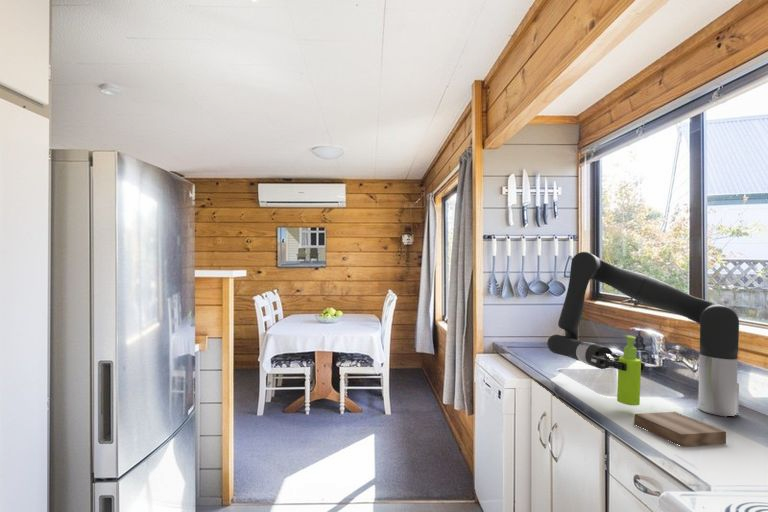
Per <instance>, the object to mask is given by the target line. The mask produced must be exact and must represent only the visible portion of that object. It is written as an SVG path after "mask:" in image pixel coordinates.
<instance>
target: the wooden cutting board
mask: <svg viewBox="0 0 768 512" xmlns="http://www.w3.org/2000/svg"><path fill="white" fill-rule="evenodd" d="M633 425H634V426H636V425H637V426H636V427H638V426H639V427H638V428H640V427H641V428H640V429H642V428H644V429H646V430H648V431H647V432H649V433H651V434H653V435H655V436H656V437H659V436H660V437H659V438H661V437H662V439H663V438H664V440H666V441H668V440H669V441H668V442H670V441H671V442H670V443H672V442H673V443H672V444H674V443H675V444H674V445H676V444H678V445H680V446H686V447H696V446H698V445H699V447H700V446H712V445H725V444H727V431H725V430H723V429H722V428H721V429H720V428H718V427H717V426H716V427H715V426H713V425H711V424H708V423H705V422H702V421H701V420H700V421H699V420H697V419H694V418H692V417H689V416H687V415H684V414H682V413H679V412H676V411H668V412H666V411H665V412H664V411H662V412H645V413H644V412H642V413H641V412H640V413H634V415H633ZM644 429H643V430H644ZM646 430H645V431H646ZM678 445H677V446H678ZM680 446H679V447H680Z"/></svg>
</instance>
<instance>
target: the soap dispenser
mask: <svg viewBox="0 0 768 512" xmlns="http://www.w3.org/2000/svg"><path fill="white" fill-rule="evenodd" d="M622 338H626V345H624V346H623V355H622V356H623V357H619V362H623V363H626V364H627V370H626V371H622V370H619V369H617V389H616V390H617V392H616V393H617V394H616V400H617V402H618V403H620V404H623V405H628V406H636V407H637V406H640V403H641V402H640V401H641V380H642V379H641V378H642V377H641V376H642V370H641V362H642V359H639V358H637V353H638V352H637V350H638V349H637V347H636V346H634V344H635V343H634V341H635V340H636V339H637V338H636V337H635V336H634V335H630V334H622Z"/></svg>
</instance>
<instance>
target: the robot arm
mask: <svg viewBox="0 0 768 512" xmlns="http://www.w3.org/2000/svg"><path fill="white" fill-rule="evenodd" d="M569 271H570V272H569V280H568V286H567V292H566V295H565V299H564V302H563V304H562V305H563V306H562V309H561V311H560V316H559V319H558V322H557V325H558V327H559V329H561V330H563V331H564V333H565V334H564V335H562V334H552V335H551V336H549V338H548V339H547V342H546V343H547V345H546V346H547V348H548V350H549V351H550V352H551V353H553V354H556V355H560V356H564V357H569V358H571V359H573V360H575V361H579V362H582V363H584V364H585V365H588V366H590V367H595V368H598V369H601V370H605V369H609V368H610V369H617V370H618V369H619V370H622V371H626V370H627V364H626V363H623V362H619V357H623V356H624V355H621V354H619V353H615V352H614V353H613V351H612V349H610V348H609V347H608V346H605V345H601V344H599V343H594V342H589V341H584V340H579V327H580V323H581V321H582V320H581V319H582V316H583V312H584V307H585V306H584V305H585V297H586V292H587V289H588V286H589V283H590V281H591V280H593V281H596V282H598V283H601V284H605V285H607V286H610V287H611V288H614V289H615V290H617V291H618V292H620V293H622V294H623V295H625V296H627V297H629V298H630V299H633V300H636V301H638V302H640V303H642V304H645V305H647V306H650V307H652V308H656V309H659V310H663V311H666V312H670V313H674V314H677V315H680V316H682V317H684V318H686V319H689V320H690V321H693V322H695V323H696V324H699V361H698V362H699V364H698V365H699V368H698V370H699V371H698V400H697V401H698V402H697V403H698V404H697V408H698V410H700V411H703V412H704V413H708V414H711V415H715V416H721V417H727V416H734V415H736V416H737V414H736V413H738V414H739V400H740V399H739V396H740V395H739V393H740V384H739V383H738V358H739V357H738V356H739V339H740V337H739V335H740V320H739V319H740V318H739V317H738V315H737V313H736V312H735V311H734V309H732V308H731V307H729V306H727V305H724V304H720V303H716V302H712V301H709V300H707V299H702V298H700V297H696V296H693V295H691V294H689V293H687V292H685V291H682V290H681V289H679V288H677V287H676V286H673V285H671V284H669V283H666V282H664V281H661V279H658V278H654V277H652V276H649V275H648V274H647V275H646V274H645V273H644V274H643V273H640V272H637V271H633V270H629V269H626V268H621V267H619V266H615V265H614V264H612V263H609V262H607V261H605V260H603V259H601V258H599V257H598V256H596V255H595V254H593V253H591V252H588V251H581V252H578V253H576V254H575V255H574V256H573V257H572V259H571V263H570V270H569ZM645 365H646V364H645V363H644V362H642V361H641V371H645V369H646V366H645ZM734 417H735V416H734Z"/></svg>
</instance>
